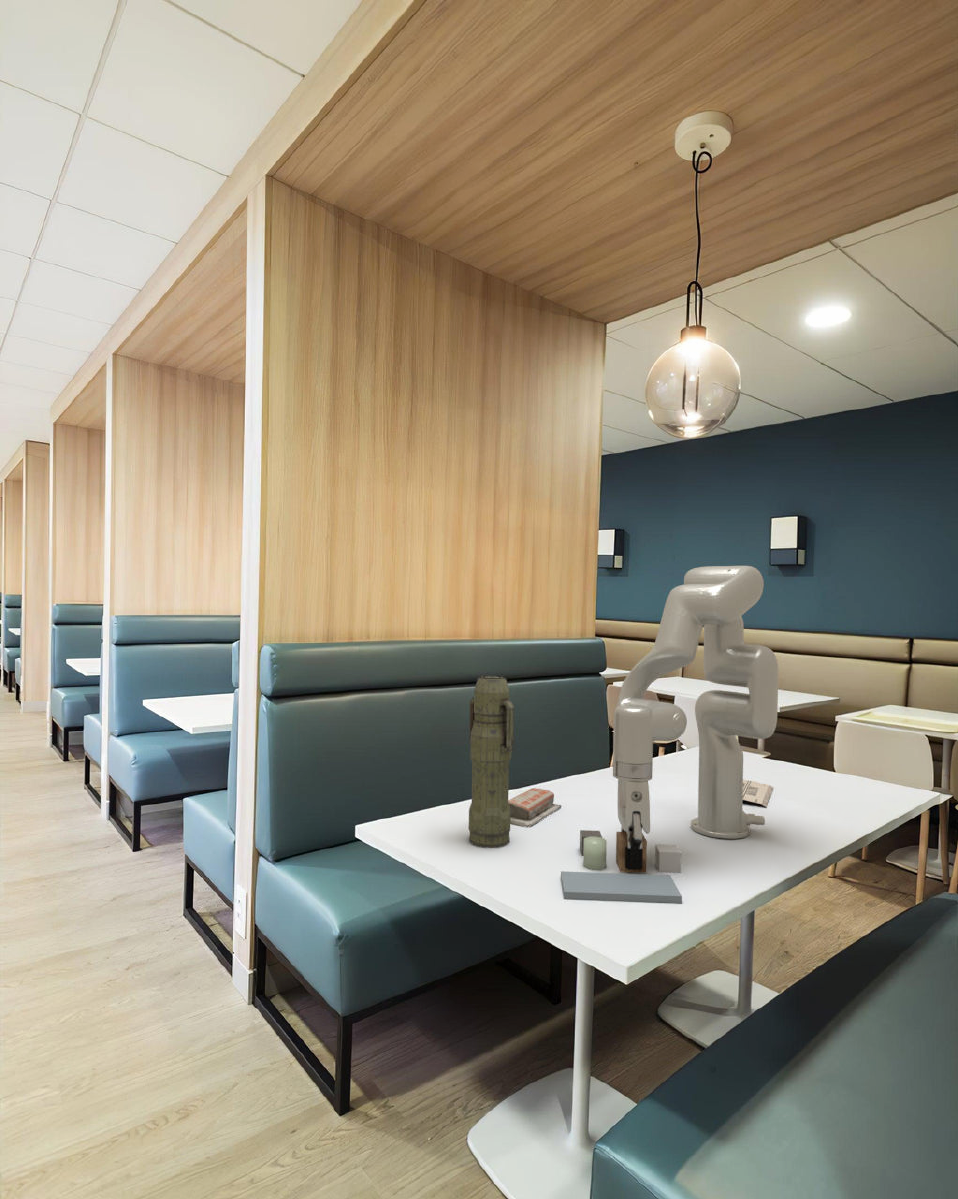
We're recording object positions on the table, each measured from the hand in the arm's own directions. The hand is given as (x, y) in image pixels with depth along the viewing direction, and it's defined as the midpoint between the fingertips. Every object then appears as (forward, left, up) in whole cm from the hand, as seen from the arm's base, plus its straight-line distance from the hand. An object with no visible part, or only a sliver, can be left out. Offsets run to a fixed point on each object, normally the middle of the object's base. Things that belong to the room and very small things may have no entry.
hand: (630, 862), depth 133 cm
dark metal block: (+7, -7, -1) cm, 10 cm away
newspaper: (-40, -55, -2) cm, 68 cm away
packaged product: (+19, -32, -2) cm, 37 cm away
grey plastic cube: (-7, 0, -1) cm, 7 cm away
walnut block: (0, 0, -1) cm, 1 cm away
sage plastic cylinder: (+7, 0, -1) cm, 7 cm away
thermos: (+28, -12, -1) cm, 30 cm away
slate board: (+4, +11, -1) cm, 12 cm away
